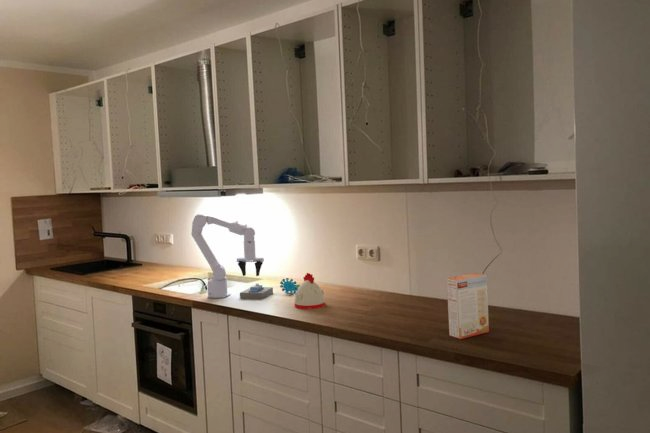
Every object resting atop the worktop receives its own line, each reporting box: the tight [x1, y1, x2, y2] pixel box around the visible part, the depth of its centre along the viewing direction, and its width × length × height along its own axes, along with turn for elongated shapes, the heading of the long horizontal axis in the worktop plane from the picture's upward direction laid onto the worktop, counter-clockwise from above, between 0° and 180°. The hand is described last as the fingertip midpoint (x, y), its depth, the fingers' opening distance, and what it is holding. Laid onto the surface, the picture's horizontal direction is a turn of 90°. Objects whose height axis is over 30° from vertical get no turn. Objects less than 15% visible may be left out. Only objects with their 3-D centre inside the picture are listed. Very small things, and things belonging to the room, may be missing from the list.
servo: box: [249, 282, 265, 292], centre depth 264 cm, size 4×10×6 cm, turn 163°
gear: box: [279, 277, 301, 295], centre depth 268 cm, size 11×6×10 cm
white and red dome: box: [294, 272, 326, 310], centre depth 238 cm, size 14×14×15 cm
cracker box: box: [446, 272, 490, 340], centre depth 183 cm, size 14×6×21 cm, turn 118°
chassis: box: [239, 286, 274, 300], centre depth 264 cm, size 12×14×3 cm
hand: (251, 275), depth 270 cm, fingers open, 7 cm apart
